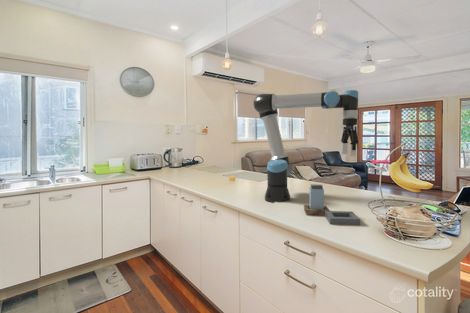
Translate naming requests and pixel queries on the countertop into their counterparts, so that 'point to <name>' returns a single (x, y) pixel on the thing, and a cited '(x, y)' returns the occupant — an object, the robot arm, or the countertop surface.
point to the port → (342, 218)
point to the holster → (315, 211)
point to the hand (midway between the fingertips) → (348, 155)
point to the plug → (316, 197)
